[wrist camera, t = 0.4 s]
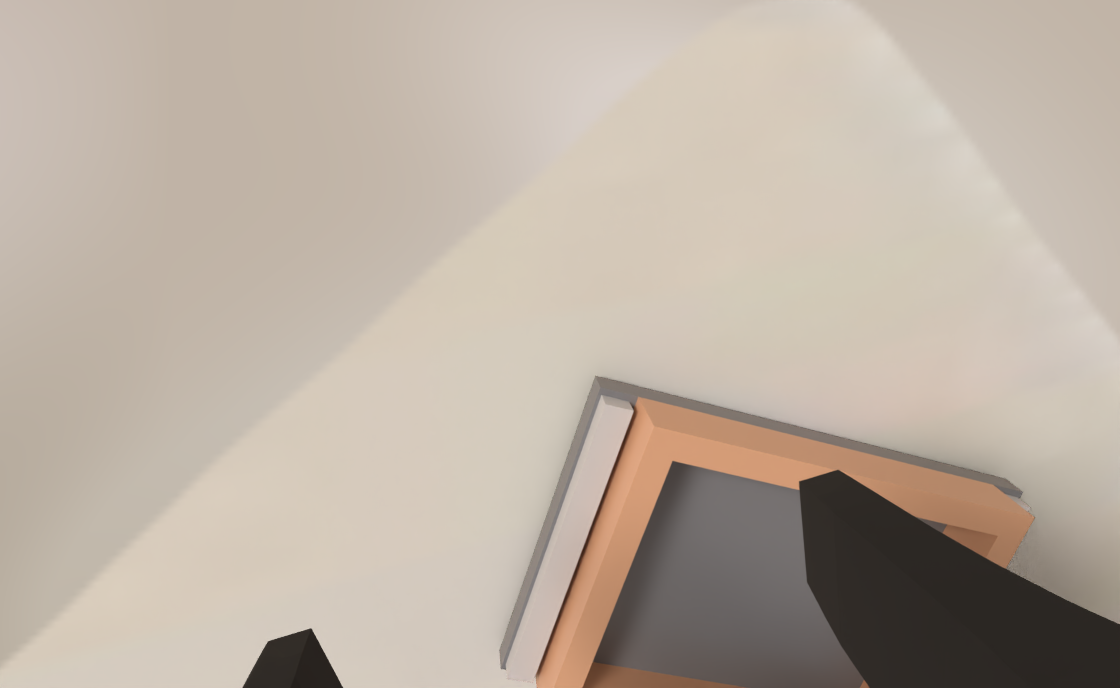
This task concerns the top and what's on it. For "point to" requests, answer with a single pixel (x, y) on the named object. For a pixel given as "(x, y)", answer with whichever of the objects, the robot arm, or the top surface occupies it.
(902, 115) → the top surface
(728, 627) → the frame
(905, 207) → the top surface
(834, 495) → the robot arm
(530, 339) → the top surface
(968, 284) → the top surface
